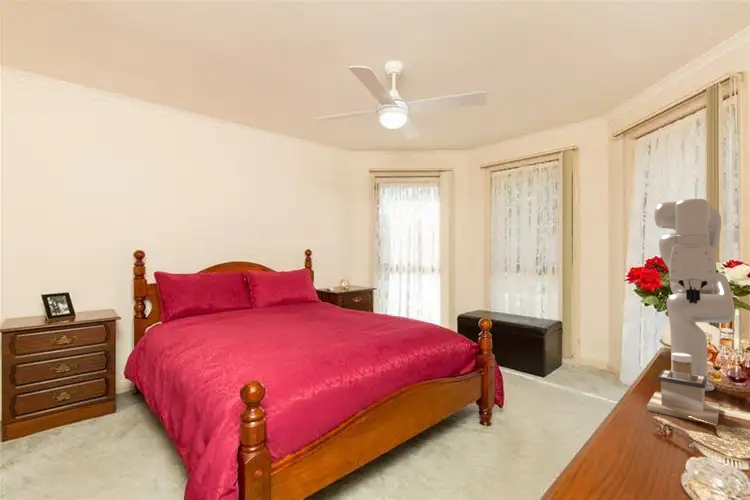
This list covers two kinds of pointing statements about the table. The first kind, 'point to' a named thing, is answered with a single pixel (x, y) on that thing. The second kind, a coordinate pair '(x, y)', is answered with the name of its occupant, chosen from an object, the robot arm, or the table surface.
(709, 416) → the silver stepped pedestal
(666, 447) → the table surface
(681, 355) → the sprinkles bottle
